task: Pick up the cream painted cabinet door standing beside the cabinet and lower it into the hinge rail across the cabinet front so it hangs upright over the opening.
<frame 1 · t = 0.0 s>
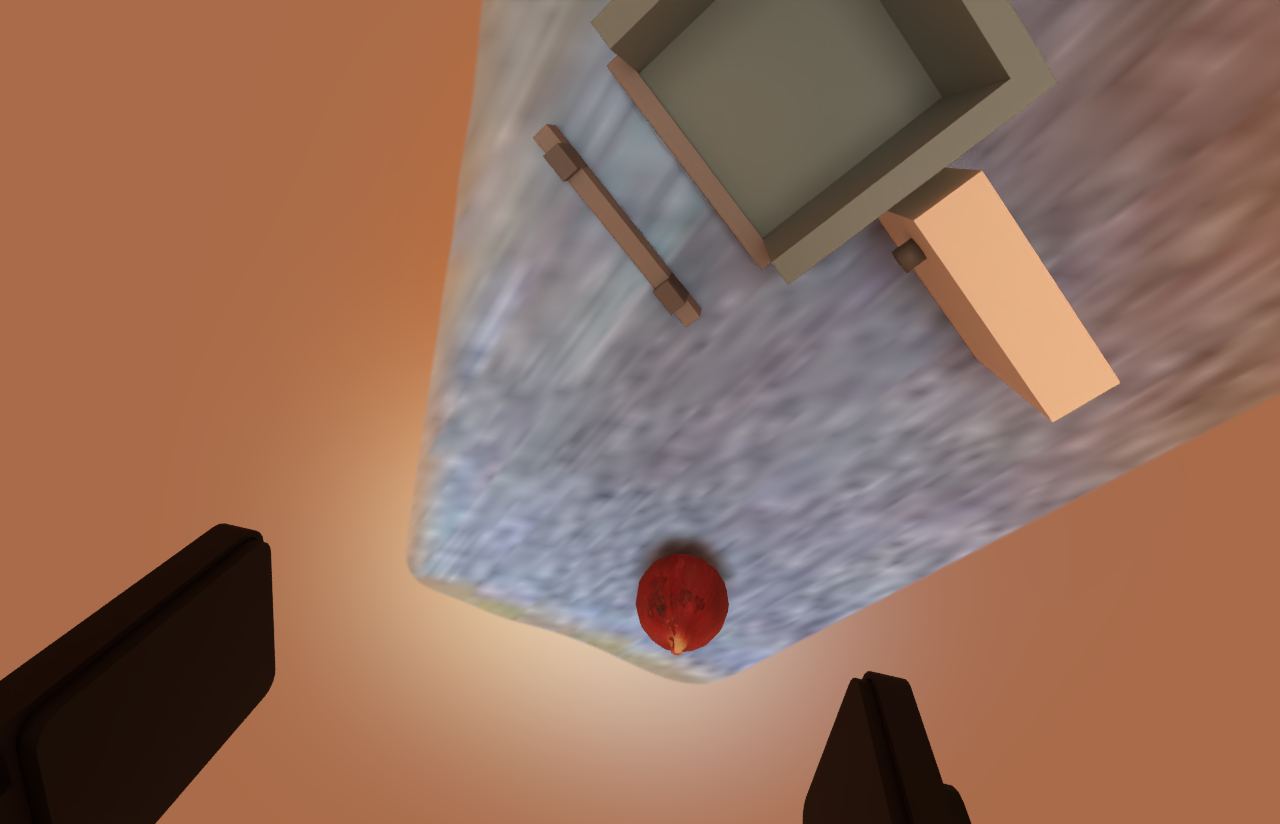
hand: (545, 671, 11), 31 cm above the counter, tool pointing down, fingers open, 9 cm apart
door: (947, 266, 37), on the counter
onion: (685, 566, 46), on the counter
cabinet: (659, 195, 38), on the counter
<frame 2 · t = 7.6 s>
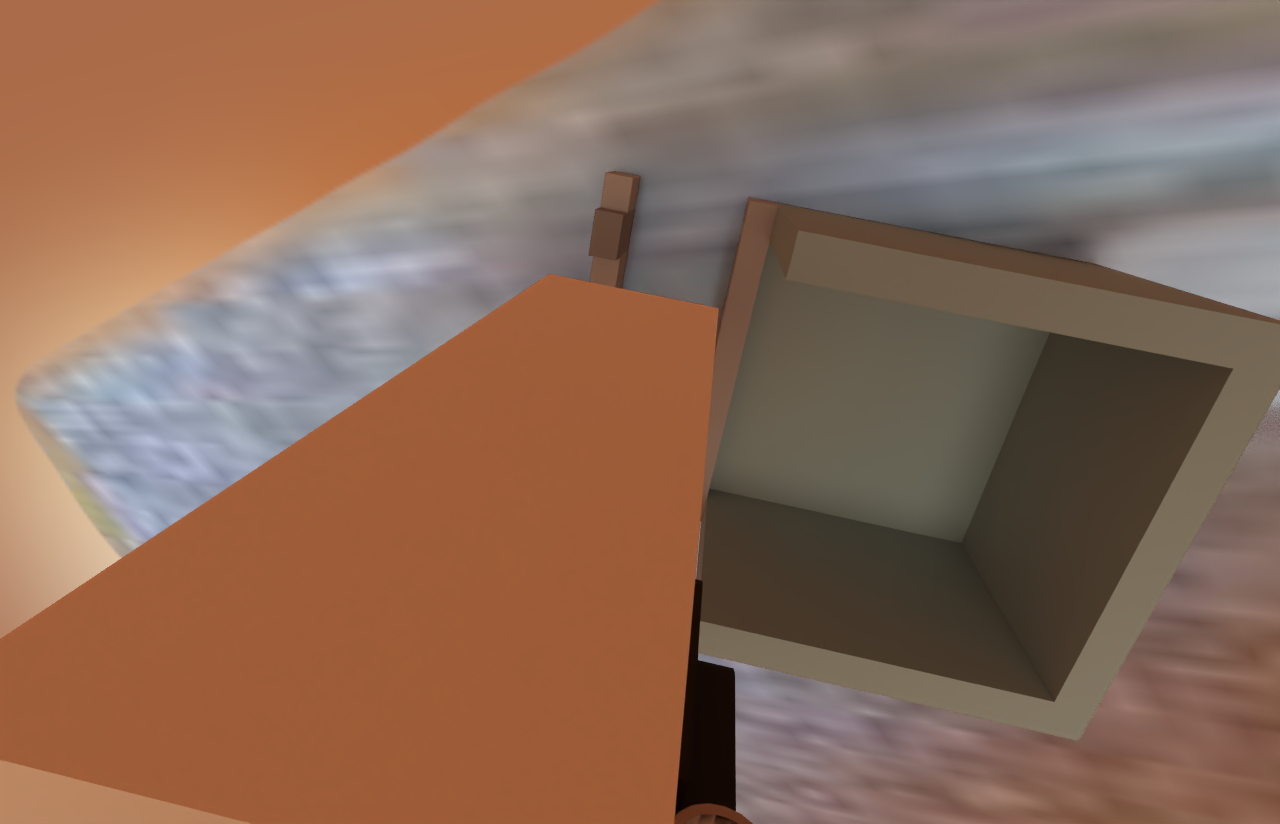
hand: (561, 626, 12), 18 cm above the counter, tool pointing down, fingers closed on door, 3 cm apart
door: (587, 555, 14), point 16 cm above the counter, touching gripper
cabinet: (662, 348, 28), on the counter
when the fingers open (4 cm above the counter, at t = 11.3 s): door drops 1 cm, on the counter.
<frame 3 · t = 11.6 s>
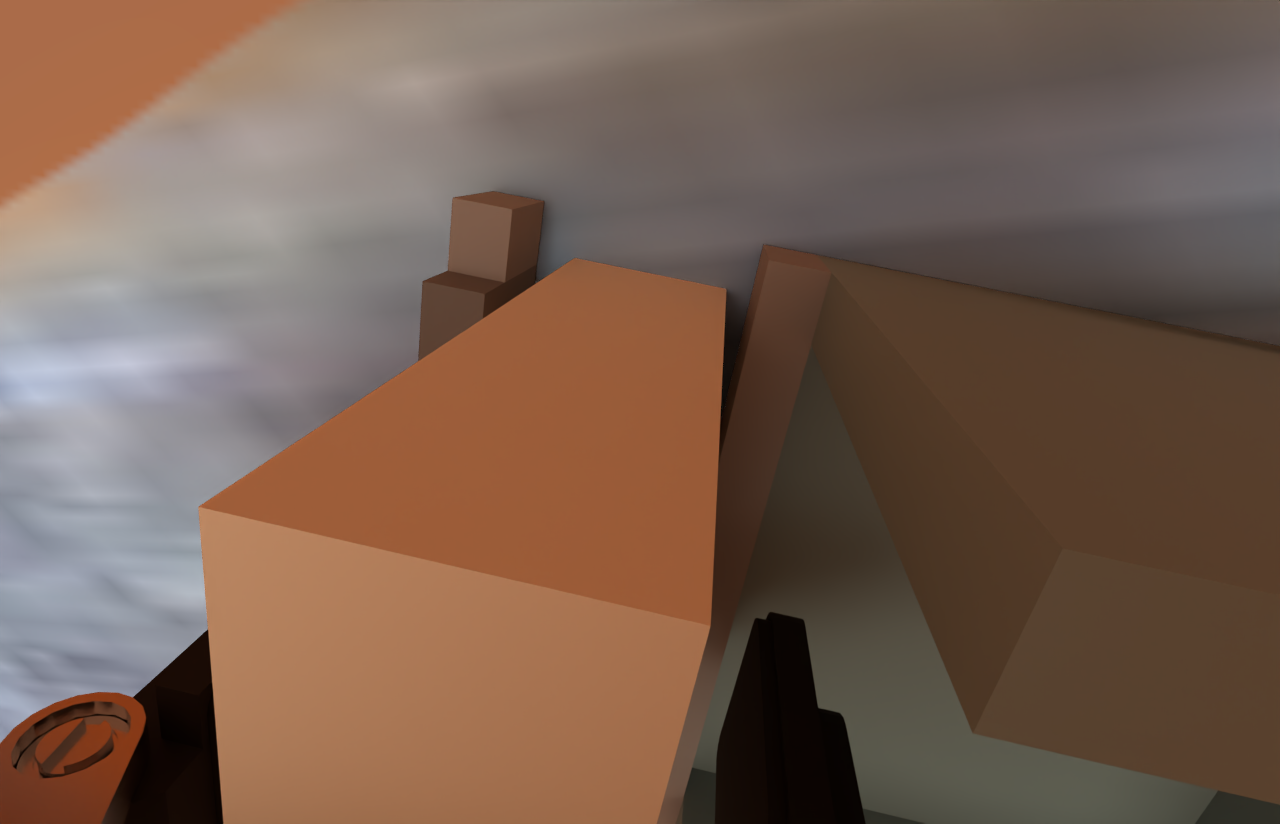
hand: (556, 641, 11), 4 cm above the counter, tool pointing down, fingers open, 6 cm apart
door: (605, 515, 15), on the counter
cabinet: (600, 518, 15), on the counter
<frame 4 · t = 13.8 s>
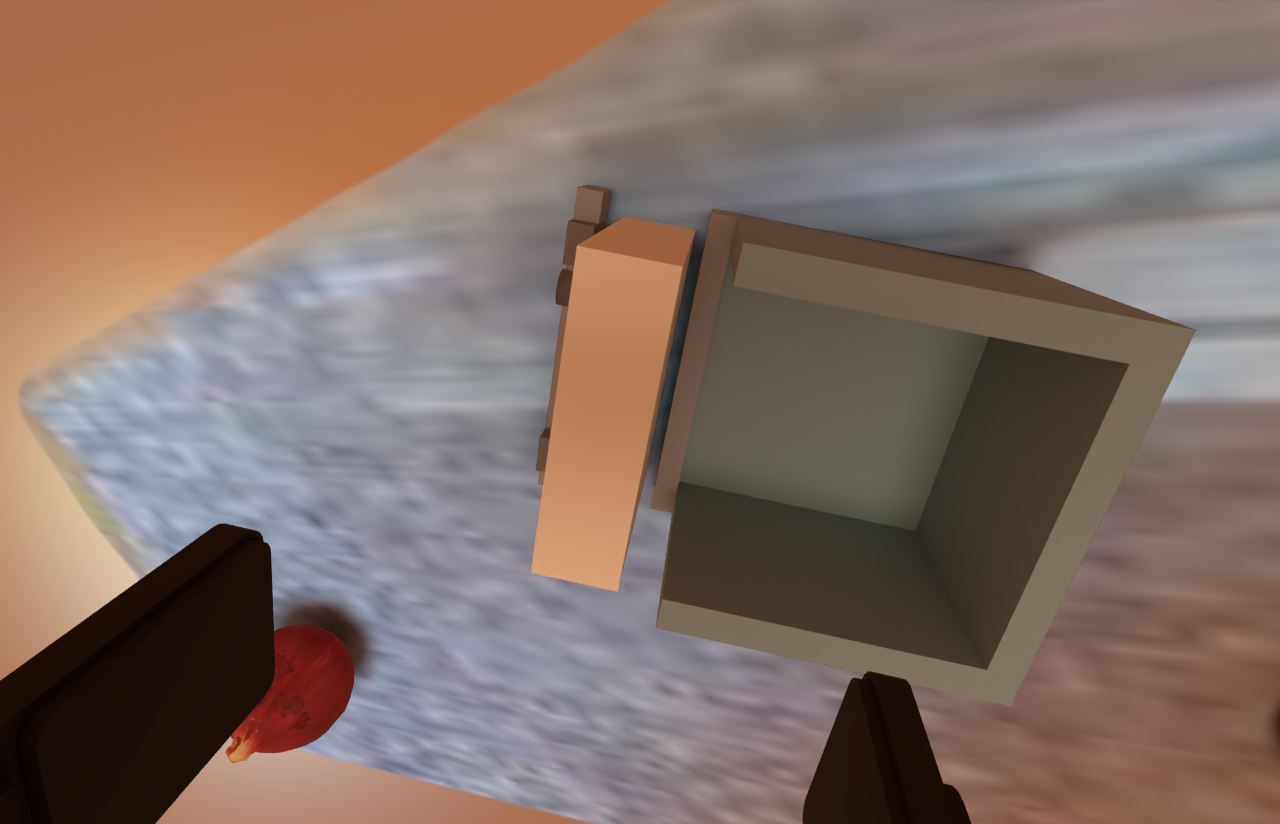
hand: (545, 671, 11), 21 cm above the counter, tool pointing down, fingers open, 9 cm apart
door: (637, 348, 30), on the counter
onion: (332, 635, 38), on the counter
cabinet: (634, 350, 30), on the counter
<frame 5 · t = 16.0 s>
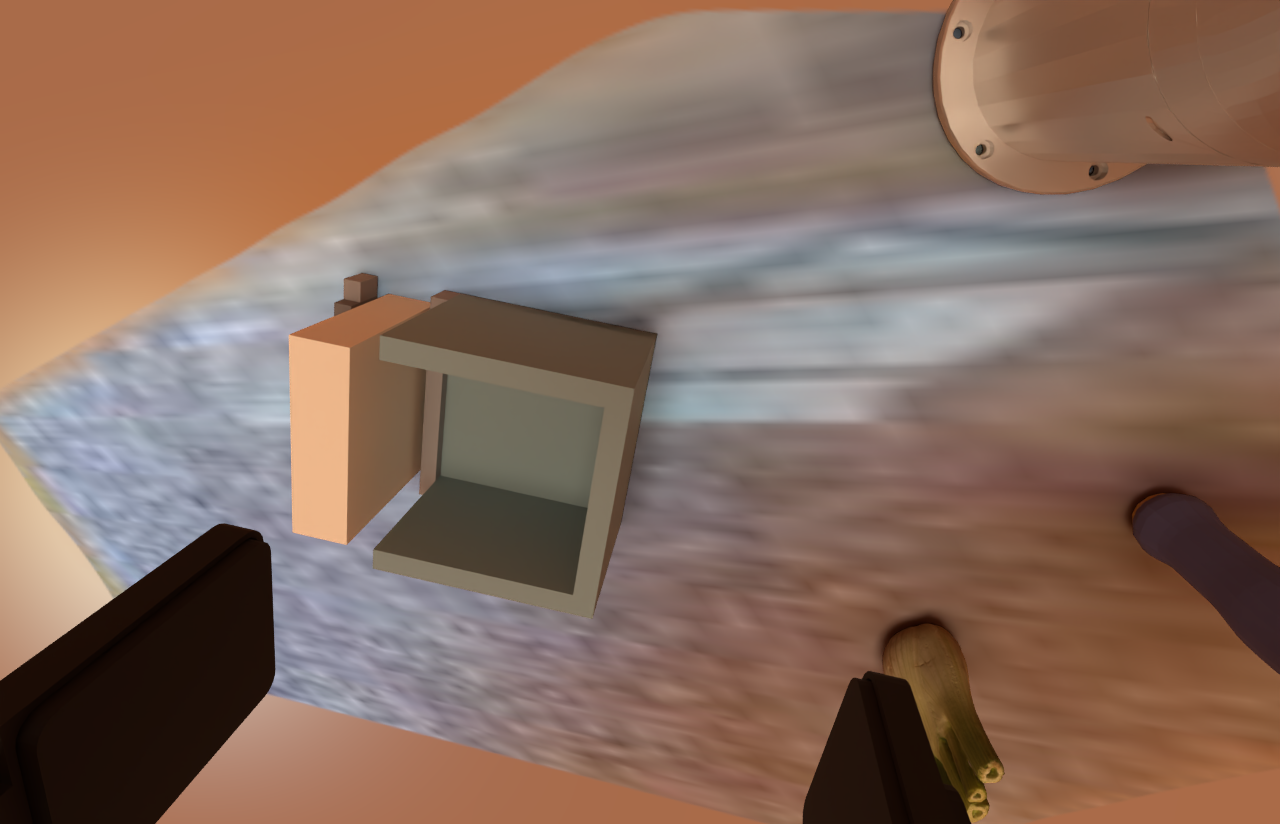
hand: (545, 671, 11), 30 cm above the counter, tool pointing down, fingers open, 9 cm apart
door: (408, 382, 43), on the counter
rubber mallet: (1154, 510, 40), on the counter
fennel bulb: (913, 643, 45), on the counter
cabinet: (406, 383, 43), on the counter
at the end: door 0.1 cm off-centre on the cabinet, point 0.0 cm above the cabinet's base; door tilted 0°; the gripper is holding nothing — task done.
